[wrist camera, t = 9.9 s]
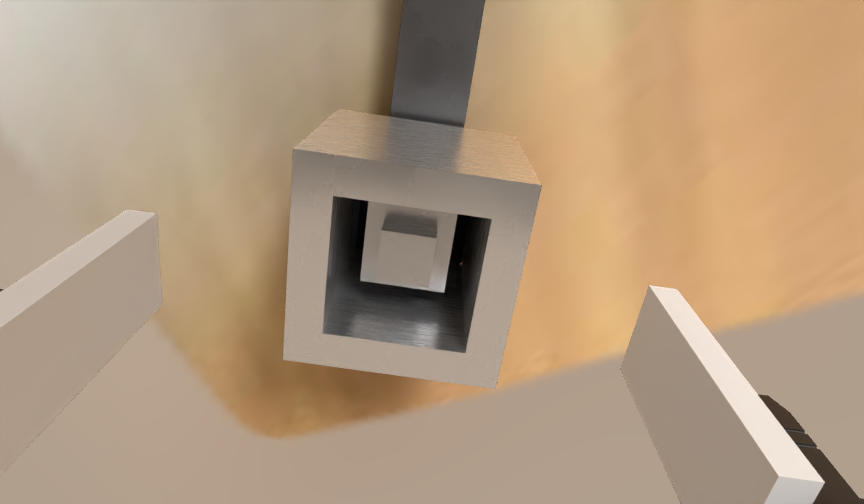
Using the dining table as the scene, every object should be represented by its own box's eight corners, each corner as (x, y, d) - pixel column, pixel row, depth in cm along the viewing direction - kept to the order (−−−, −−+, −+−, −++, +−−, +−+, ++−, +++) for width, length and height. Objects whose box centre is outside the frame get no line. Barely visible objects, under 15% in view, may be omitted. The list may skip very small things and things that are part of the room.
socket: (338, 108, 22) (293, 148, 16) (515, 135, 22) (541, 184, 16) (326, 269, 25) (282, 359, 18) (483, 292, 25) (495, 389, 19)
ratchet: (393, -296, 20) (356, -498, 12) (574, -264, 20) (655, -444, 12) (344, 239, 28) (302, 329, 20) (474, 258, 28) (484, 355, 20)
